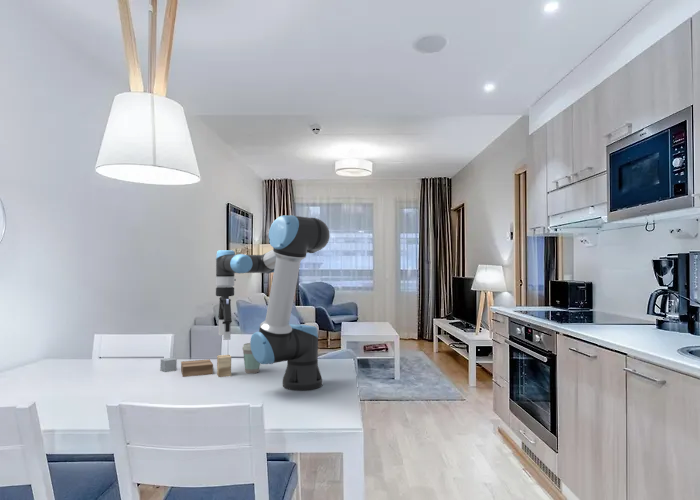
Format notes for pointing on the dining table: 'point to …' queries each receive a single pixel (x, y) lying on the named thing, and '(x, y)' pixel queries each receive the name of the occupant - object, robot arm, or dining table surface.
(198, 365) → the walnut base slab
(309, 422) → the dining table surface
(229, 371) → the oak column block
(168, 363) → the slate grey block
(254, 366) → the coffee cup
